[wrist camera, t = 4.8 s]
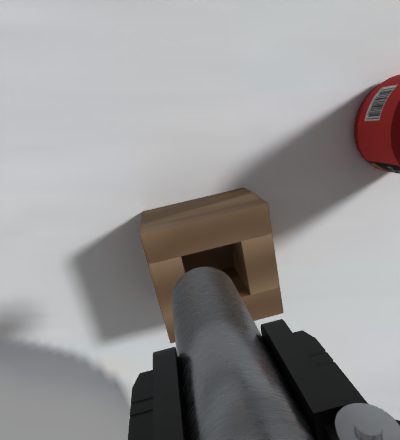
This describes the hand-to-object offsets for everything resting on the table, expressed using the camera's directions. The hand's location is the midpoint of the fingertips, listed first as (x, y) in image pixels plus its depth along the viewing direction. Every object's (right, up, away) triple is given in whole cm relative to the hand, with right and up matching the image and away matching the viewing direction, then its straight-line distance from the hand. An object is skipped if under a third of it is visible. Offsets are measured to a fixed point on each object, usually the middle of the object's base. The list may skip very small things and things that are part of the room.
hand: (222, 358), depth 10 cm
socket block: (0, +2, +18) cm, 18 cm away
